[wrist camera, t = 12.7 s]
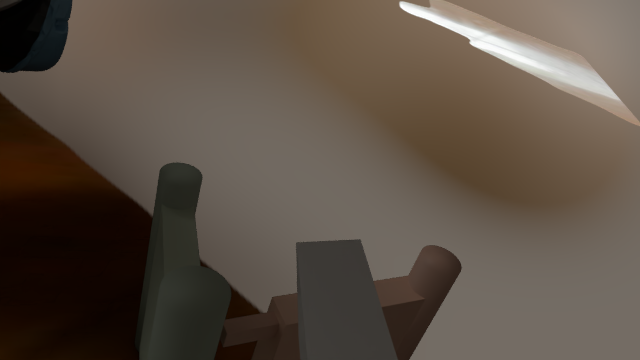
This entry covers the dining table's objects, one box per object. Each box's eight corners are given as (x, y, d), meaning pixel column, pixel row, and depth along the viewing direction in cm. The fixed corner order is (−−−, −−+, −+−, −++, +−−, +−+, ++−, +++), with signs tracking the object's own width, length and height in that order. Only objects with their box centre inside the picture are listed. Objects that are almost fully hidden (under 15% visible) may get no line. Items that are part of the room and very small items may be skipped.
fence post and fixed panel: (181, 504, 31) (235, 318, 22) (125, 512, 30) (160, 319, 21) (172, 328, 40) (208, 151, 32) (130, 329, 39) (155, 146, 31)
